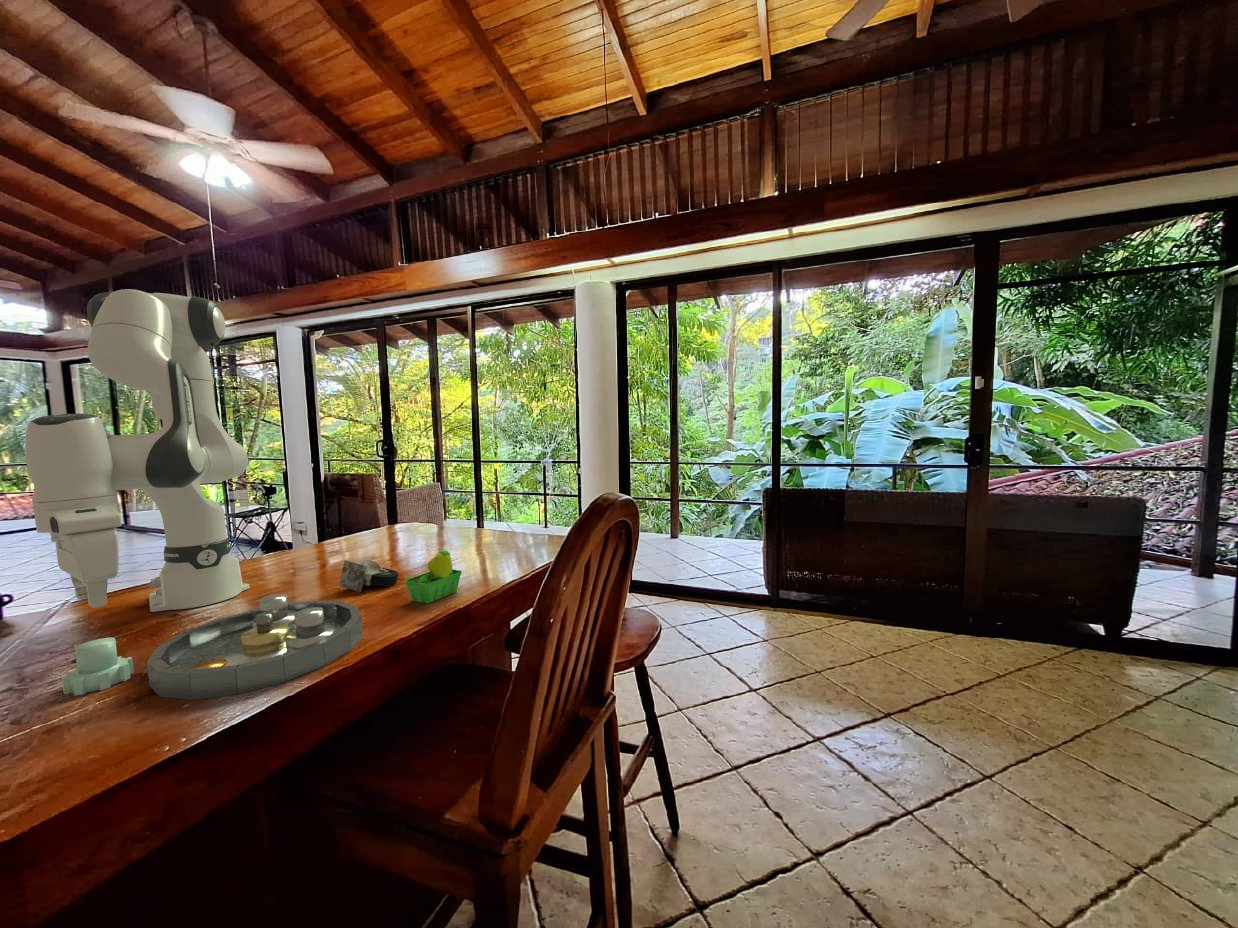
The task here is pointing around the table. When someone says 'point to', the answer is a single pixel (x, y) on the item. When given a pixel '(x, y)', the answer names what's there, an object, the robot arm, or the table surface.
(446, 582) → the fruit basket
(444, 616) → the table surface
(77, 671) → the planet gear
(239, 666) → the tray
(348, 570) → the caster wheel
